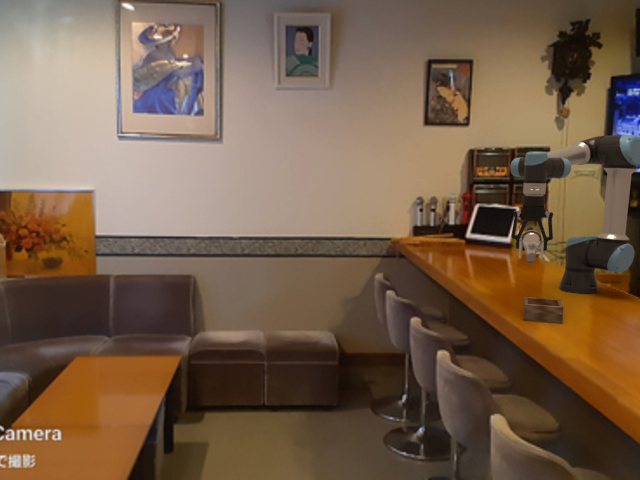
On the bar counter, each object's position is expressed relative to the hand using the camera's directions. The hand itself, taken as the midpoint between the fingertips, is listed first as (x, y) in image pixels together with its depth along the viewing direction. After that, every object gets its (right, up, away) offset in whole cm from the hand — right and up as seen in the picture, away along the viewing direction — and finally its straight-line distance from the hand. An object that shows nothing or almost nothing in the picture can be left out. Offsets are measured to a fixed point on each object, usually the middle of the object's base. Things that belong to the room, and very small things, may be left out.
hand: (530, 258), depth 215 cm
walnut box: (+1, -20, -8) cm, 22 cm away
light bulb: (0, -2, 0) cm, 2 cm away
